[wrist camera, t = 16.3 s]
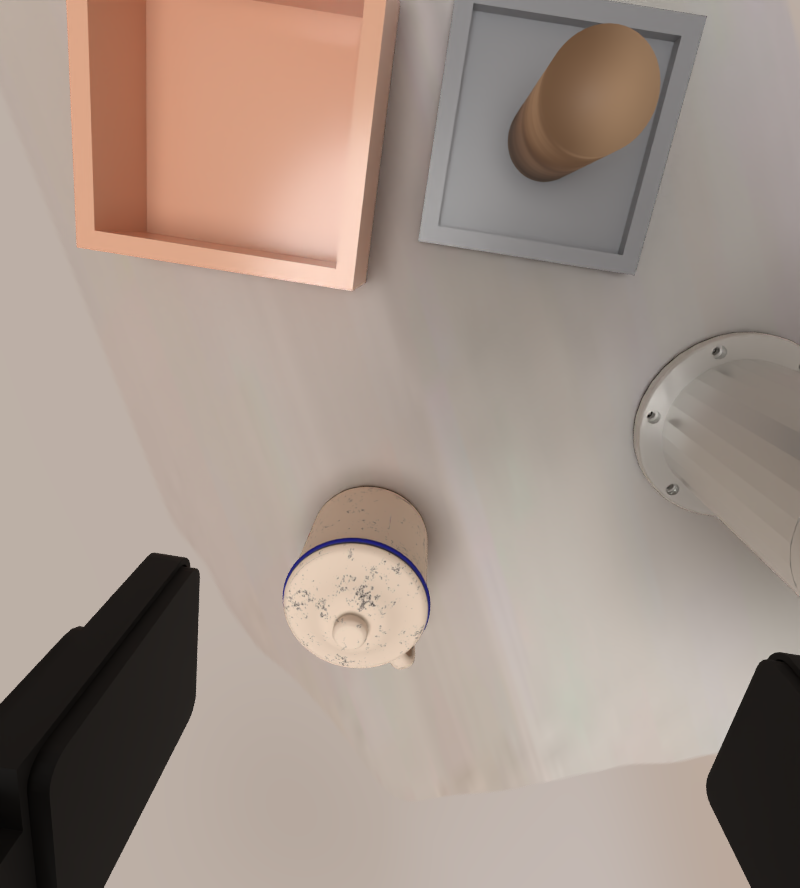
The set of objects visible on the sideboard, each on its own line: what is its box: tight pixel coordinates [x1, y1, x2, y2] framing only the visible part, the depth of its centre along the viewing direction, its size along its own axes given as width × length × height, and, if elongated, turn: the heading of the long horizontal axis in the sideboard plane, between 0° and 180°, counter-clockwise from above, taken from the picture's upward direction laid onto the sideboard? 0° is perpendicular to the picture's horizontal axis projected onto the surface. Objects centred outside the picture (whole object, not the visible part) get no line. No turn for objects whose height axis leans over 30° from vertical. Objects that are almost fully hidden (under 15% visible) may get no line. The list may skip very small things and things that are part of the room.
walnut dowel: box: [508, 23, 660, 182], centre depth 27 cm, size 4×4×11 cm
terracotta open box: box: [66, 0, 400, 291], centre depth 31 cm, size 15×15×6 cm
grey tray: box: [418, 0, 707, 275], centre depth 33 cm, size 13×13×2 cm
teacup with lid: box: [283, 487, 430, 669], centre depth 38 cm, size 12×9×12 cm
